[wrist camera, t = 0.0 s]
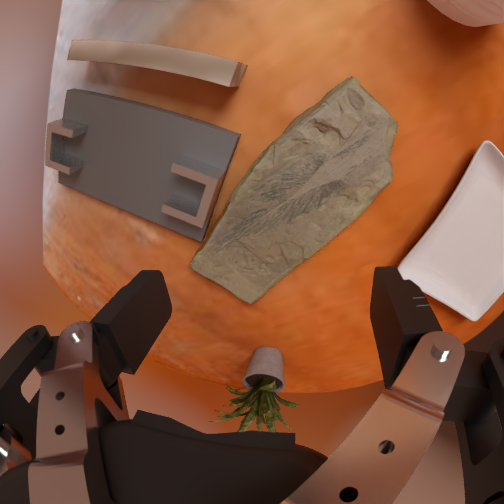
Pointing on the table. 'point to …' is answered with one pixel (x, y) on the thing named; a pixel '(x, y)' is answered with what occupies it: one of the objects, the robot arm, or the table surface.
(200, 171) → the end caps
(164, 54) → the slat
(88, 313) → the table surface
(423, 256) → the salad plate
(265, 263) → the stone slab
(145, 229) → the table surface
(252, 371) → the house plant
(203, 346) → the table surface
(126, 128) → the base board
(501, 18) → the honey pot
